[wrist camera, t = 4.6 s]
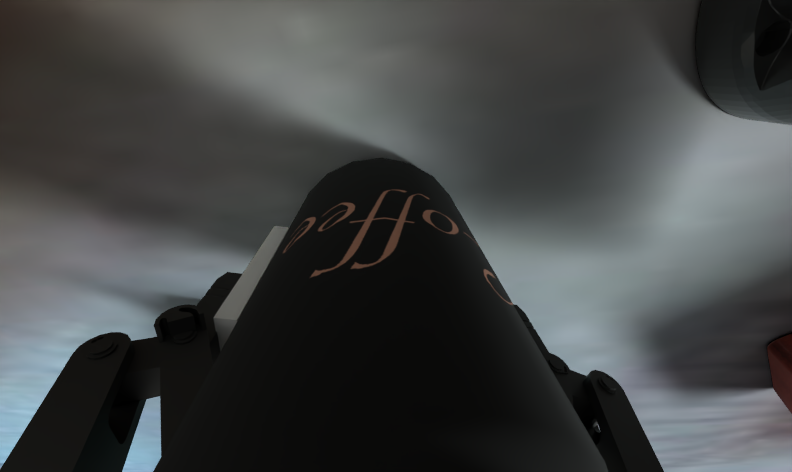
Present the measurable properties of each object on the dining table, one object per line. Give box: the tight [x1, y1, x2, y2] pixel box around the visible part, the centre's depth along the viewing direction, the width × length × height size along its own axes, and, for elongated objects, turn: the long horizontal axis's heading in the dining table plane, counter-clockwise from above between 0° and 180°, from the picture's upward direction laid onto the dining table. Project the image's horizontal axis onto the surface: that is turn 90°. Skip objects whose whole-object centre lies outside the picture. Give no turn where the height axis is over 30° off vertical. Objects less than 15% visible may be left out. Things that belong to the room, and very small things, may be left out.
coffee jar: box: [153, 158, 609, 472], centre depth 12 cm, size 11×11×18 cm
